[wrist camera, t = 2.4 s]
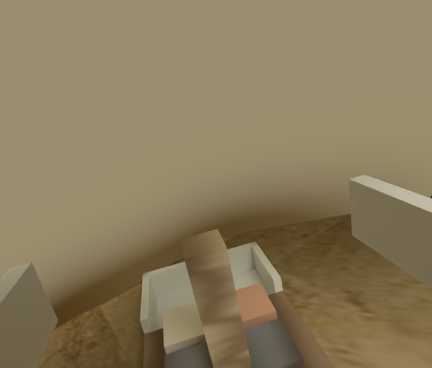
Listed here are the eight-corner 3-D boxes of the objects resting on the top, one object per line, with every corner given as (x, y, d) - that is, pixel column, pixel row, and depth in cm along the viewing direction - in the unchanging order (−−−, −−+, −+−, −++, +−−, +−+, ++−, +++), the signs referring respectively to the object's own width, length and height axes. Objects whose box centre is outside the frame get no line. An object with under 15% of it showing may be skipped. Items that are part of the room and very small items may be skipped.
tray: (259, 267, 48) (255, 241, 46) (285, 309, 39) (280, 277, 37) (151, 300, 46) (143, 273, 44) (150, 352, 36) (139, 321, 35)
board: (285, 309, 39) (282, 290, 38) (339, 396, 27) (337, 372, 26) (150, 352, 36) (144, 333, 35) (148, 467, 25) (139, 444, 24)
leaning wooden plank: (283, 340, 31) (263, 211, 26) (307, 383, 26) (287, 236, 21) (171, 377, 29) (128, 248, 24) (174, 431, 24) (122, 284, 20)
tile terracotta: (263, 302, 36) (260, 282, 35) (279, 332, 32) (276, 310, 31) (225, 314, 36) (220, 294, 35) (235, 347, 31) (230, 325, 30)
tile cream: (209, 319, 35) (204, 299, 34) (217, 353, 31) (212, 331, 30) (169, 332, 35) (162, 312, 34) (171, 369, 30) (163, 347, 29)
